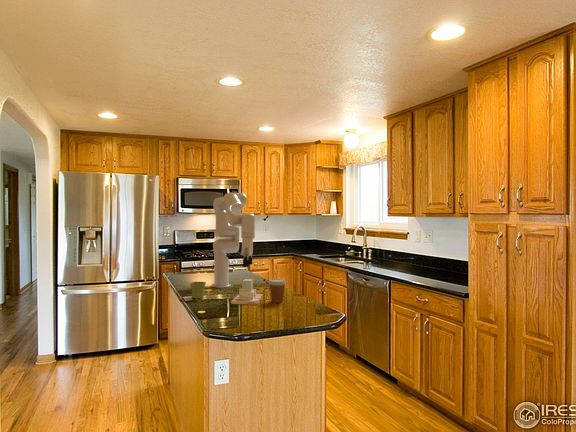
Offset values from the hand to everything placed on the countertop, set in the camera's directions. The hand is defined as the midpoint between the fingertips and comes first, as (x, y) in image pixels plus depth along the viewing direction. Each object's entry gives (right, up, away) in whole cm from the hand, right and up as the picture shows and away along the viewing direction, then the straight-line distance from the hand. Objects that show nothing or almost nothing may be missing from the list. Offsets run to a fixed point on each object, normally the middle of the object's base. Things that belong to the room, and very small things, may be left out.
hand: (247, 265), depth 230 cm
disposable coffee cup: (+17, -20, -3) cm, 26 cm away
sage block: (0, -14, 0) cm, 14 cm away
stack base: (0, -20, 0) cm, 20 cm away
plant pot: (-30, -20, +6) cm, 36 cm away
